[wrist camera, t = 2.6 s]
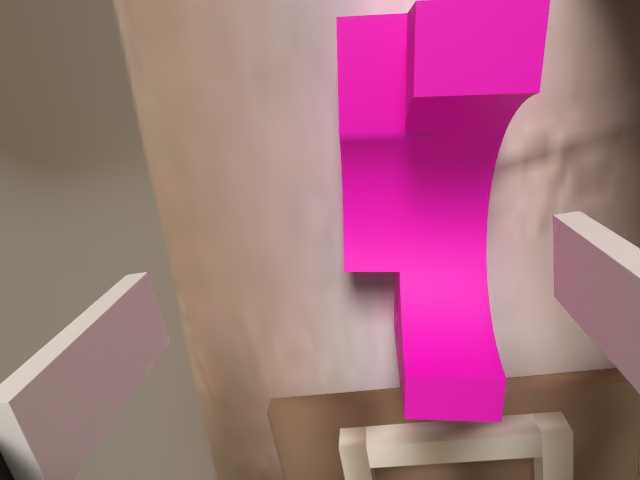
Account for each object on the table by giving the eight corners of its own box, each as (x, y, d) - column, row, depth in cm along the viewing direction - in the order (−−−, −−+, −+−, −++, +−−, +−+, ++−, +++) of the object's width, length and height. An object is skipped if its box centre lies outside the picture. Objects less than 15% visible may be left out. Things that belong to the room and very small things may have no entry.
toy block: (342, 28, 21) (330, 5, 14) (486, 20, 20) (550, -7, 13) (348, 323, 26) (341, 417, 19) (463, 324, 25) (501, 422, 18)
